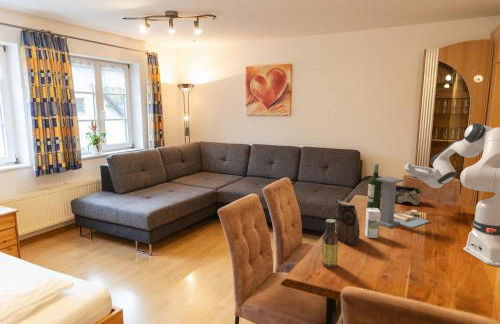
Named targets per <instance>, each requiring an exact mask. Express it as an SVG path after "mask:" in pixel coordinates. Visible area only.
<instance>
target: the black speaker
mask: <svg viewBox="0 0 500 324" xmlns="http://www.w3.org/2000/svg"><path fill="white" fill-rule="evenodd" d="M334 220H335V221H336V224H335V232H336V234H337V236H338V242H339V243H341V244H344V245H346V246H350V247H357V246H358V244H359V241H360V233H361V231H360V223H359V217H358V212H357V209H356V206H355V205H353V204H352V203H349V202H347V201H344V200H343V201H342V200H339V199H336V212H335V214H334Z"/></svg>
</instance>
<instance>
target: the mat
mask: <svg viewBox="0 0 500 324" xmlns="http://www.w3.org/2000/svg"><path fill="white" fill-rule="evenodd" d="M396 212H398V211H397V210H394V213H396ZM380 217H381V212H380ZM394 220H395V221H399V222H400V226H403V227H407V228H409V229H414V228H417V227H420V226H423V225H425V224H428V223H430V220H427V219H424V218H421V217H417V216H415V219H412V220H408V221H405V222H404V221H400V220H397V219H394Z"/></svg>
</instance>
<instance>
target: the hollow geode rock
mask: <svg viewBox="0 0 500 324" xmlns="http://www.w3.org/2000/svg"><path fill="white" fill-rule="evenodd" d="M382 188H383V184H382ZM381 193H382V189H381ZM420 194H422V191H420V188H419V187H414V186H413V187H412V186H407V185H405V186H404V185H399V184H396V195H395V203H399V204H402V203H405V202H409V203H411V205H413V206H418V205H419V204H420V199H419V195H420Z"/></svg>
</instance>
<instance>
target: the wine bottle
mask: <svg viewBox="0 0 500 324" xmlns="http://www.w3.org/2000/svg"><path fill="white" fill-rule="evenodd" d="M379 166H380V164H379V163H376V162H374V164H373V173H372V176H371V177H370V178H369V179H368V184H367V185H368V187H367V203H366V204H367V205H366V208H378V209H379V211H381V202H382V192H381V189H382V185H383V181H378V180H376V178H380V177H379Z"/></svg>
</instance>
